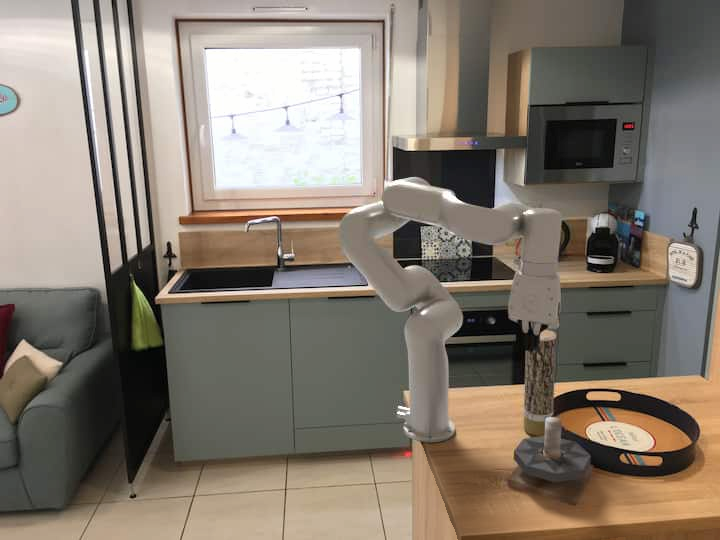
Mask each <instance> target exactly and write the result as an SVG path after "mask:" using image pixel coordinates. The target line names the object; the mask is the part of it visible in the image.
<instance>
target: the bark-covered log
mask: <svg viewBox="0 0 720 540" xmlns="http://www.w3.org/2000/svg"><path fill="white" fill-rule="evenodd" d="M533 330H534V328H533ZM556 351H557V333H556V332H555V331H553V330H551V329H545V330H544V331H543V332H541V333H540V343H539V347H538V348H536V349H535V350H534V351H533V352H530V351H525V367H524V369H525V370H524V394H523V395H524V398H523V399H524V401H523V402H524V403H523V404H524V405H523V429H524V431H525V432H526V433H527V434H529V435H532V436H534V437H539V436H545V419H546V418H548V417H551V416H552V415H553V416H554V399H555V398H554V397H555V379H556V377H555V374H556Z"/></svg>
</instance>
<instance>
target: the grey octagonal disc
mask: <svg viewBox="0 0 720 540" xmlns="http://www.w3.org/2000/svg"><path fill="white" fill-rule="evenodd" d="M544 442H545V436H533V437H532V436H531V437H526V438H523V439H521V441H520V443H519V444H518V445H517V446H516V448H515V449H514V450H513V460H514V461H515V463H516V464H517V466H518V465H519V466H520V467H521V468H522V470H523V471H524V472H525V473H526V474H528V475H531V476H535V477H538V478H542V479H545V480H549V481H552V482H562V481H568V480H574V479H580V478H583V477H584V475H585V473H586V471H587V470H588V468H589V466H590V465H591V459H592V456H591V454H590V453H589V452H588V451H586V450H585V448H583V446H581V445H580V444H579V443H577V441H574V440H570V439H565V438H562V437H561V443H560V452H561V458H558V459H551V458H547V457H544V456H543V450H544Z"/></svg>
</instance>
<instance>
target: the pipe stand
mask: <svg viewBox="0 0 720 540" xmlns="http://www.w3.org/2000/svg"><path fill="white" fill-rule="evenodd" d="M561 438H562V420H561V418H559V417H555V416H553V417H548V418H546V419H545V442H544V450H543V456H544V457H547V458H551V459H558V458H561V452H560V443H561ZM593 472H594V465H593V464H590V466H589V468H588V470H587V471H586V473H585V475H584V477H583V478H580V479H574V480H568V481H562V482H552V481H549V480H545V479H542V478H538V477H535V476H531V475H528V474H526V473H525V472H524V471H523V470H522V468H521V467H520V466H519V465H518V464H517V466H516V467H515V468H514V469H513V470H512V472H511V474H509V476H508V477H507V486H509V487H513V488H515V489H519V490H523V491H524V492H525V491H526V492H530V493H532V494H536V495H539V496H543V497H546V498H549V499H553V500H556V501H559V502H563V503H566V504H569V505H573V506H576V505H577V504H578V501H579V499H580V498H581V496H582V493H583V492H584V491H585V488H586V486H587V484H588V483H589V481H590V479H591V476H592V475H593Z"/></svg>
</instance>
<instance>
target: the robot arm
mask: <svg viewBox="0 0 720 540" xmlns="http://www.w3.org/2000/svg"><path fill="white" fill-rule="evenodd" d="M562 219H563V217H562V214H561V212H560V211H559V210H556V209H553V208H548V207H546V208H544V207H531V206H527V205H524V204H520V203H515V202H506V203H504V204H501V205H498V206H495V207H493V208H488V207H485V206H479V205H474V204H470V203H466V202H464V201H461V200H459V199H458V198H457V197H456V193H455V192H454V191H453V190H451V189H448V188H442V187H438V186H433V185H431V184H430V183H429V182H428V180H425V179H423V178H421V177H418V176H413V177H407V178H406V177H405V178H401V179H397V180H394V181H391V182H390V183H389V184H387V185H386V186H385V188H384V190H383V191H382V194H381V199H380V200H379V201H378V202H374V203H370V204H366V205H361V206H358V207H355V208H353V209H352V210H350V211H348V212H347V213H346V214H345V215H343V217H342V219H341V220H340V223H339V227H338V242H339V246H340V248H341V250H342V252H343V254H344V255H345V257H346V258H347V259H348V260H349V261H350V263H351V264H352V265H353V266H354V267H355V268H356V269H357V270H358V271H359V273H360V274H362V276H363V277H364V278H365V280H366V282H368V284H369V285H370V286H371V288H372V289H373V290H374V291H375V292H376V294H377V295H378V296H379V297H380V299H381V300H382V301H383V302H384V303H385V305H386V306H387V307H388V308H389V309H390V310H392V311H393V312H396V313H401V312H405V311H408V310H410V309H412V308H414V307H416V309H417V310H415V311H414V312H413V313H412V314H411V315H409V317H408V318H407V320H406V322H405V325H404V338H405V339H404V340H405V343H406V349H407V357H408V359H407V360H408V391H409V392H408V393H409V394H408V396H409V397H408V400H409V401H408V402H409V404H408V405H409V407H406V406H401V405H399V406H398V407H397V408H396V418H399V419H403V420H405V422H404V423H403V432H404V434H405V436H407V437H408V438H410V439H412V440H413V441H417V442H422V443H439V442H443V441H446V440H448V439H450V438H451V437H453V436H454V434H455V431H456V425H455V423H454V422H453V421H452V420H450V419H449V414H450V413H449V409H450V408H449V404H450V403H449V387H450V386H449V381H450V380H449V373H450V372H449V359H448V358H449V357H448V354H447V351H446V346H445V345H446V344H445V343H446V340H448V339H449V338H451V337H452V336H453V335H455V333H457V332H458V331H459V330H460V328H461V327H462V325H463V321H464V315H463V312H462V309H461V307H460V306H459V304H458V302H457V301H456V299H454V297H453V296H452V295H451V294H450V293H449V291H448V290H447V289H446V287H444V286H443V285H442V283H441V282H440V280H439V279H438V278H437V277H436V276H435V275H434V274H433V273H432V272H431V271H430V270H428V269H427V268H425V267H423V266H420V265H416V264H415V265H409V266H406V267H404V268H403V267H402V266H401V265H400V263H398V261H397V260H396V259H395V258H394V256H393V254H391V253H390V252H389V251H388V250H387V249H385V248H384V247H383V246H381V245H379V244H378V243H377V242H376V241H375V240H377V239H379V238H382V237H385V236H387V235H391V233H394V232H395V231H397V230H399V229H400V228H401V227H403V226H404V225H405V224H407V223H409V222H410V221H414V222H418V223H423V224H426V225H431V226H436V227H439V228H441V229H443V230H444V231H446V232H447V233H450V234H451V235H452V236H456V237H458V238H460V239H464V240H466V241H471V242H474V243H475V242H476V243H478V244H479V243H480V244H484V245H489V246H490V245H491V246H500V245H503V244H505V243H507V242H510V241H511V240H514V239H518V238H521V248H520V249H521V250H520V257H519V258H514V259H513V265H514V266H517V267H518V270H517V271H515V273H514V276H513V279H512V284H511V289H510V293H509V299H508V306H507V307H508V308H507V313H508V319H509V320H510V321H513V322H515V323H517V324H518V325H519V326H520V328H521V329H522V332H523V333H524V334H523V346H525V348H524V350H525V352H526V351H530V352H533V351H534V350H535V349H536V348H538V347H539V343H540V333H541V332H543V331H544V330H556V329H558V328H559V326H560V320H559V318H560V316H561V309H562V308H561V305H562V304H561V302H562V296H561V295H562V294H561V293H562V291H561V287H562V286H561V278H560V275H559V274H557V272H558V265H559V255H560V254H559V253H560V242H561V231H562V222H563V220H562ZM533 323H534V324H535V325H534V328H533ZM533 329H534V330H533Z"/></svg>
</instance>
